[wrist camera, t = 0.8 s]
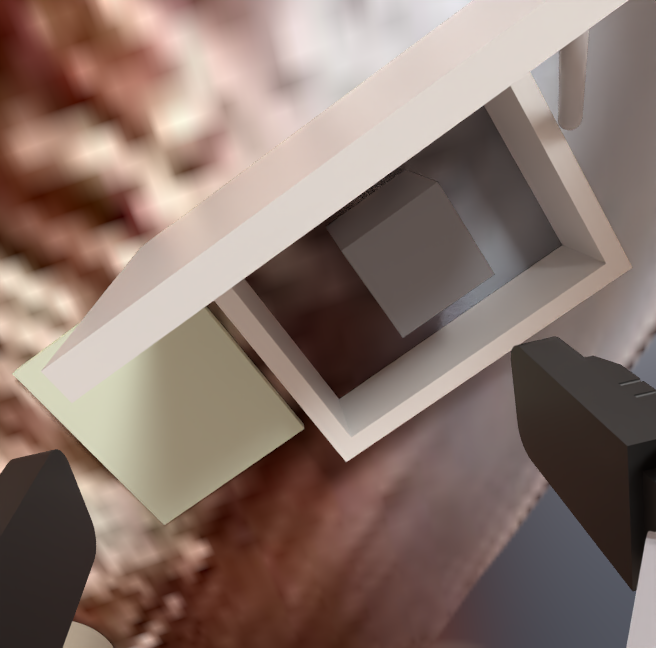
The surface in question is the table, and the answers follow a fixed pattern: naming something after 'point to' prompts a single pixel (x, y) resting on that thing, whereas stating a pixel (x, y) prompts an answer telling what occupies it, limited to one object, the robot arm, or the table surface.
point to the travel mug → (85, 637)
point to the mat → (173, 415)
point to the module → (410, 250)
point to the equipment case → (352, 180)
